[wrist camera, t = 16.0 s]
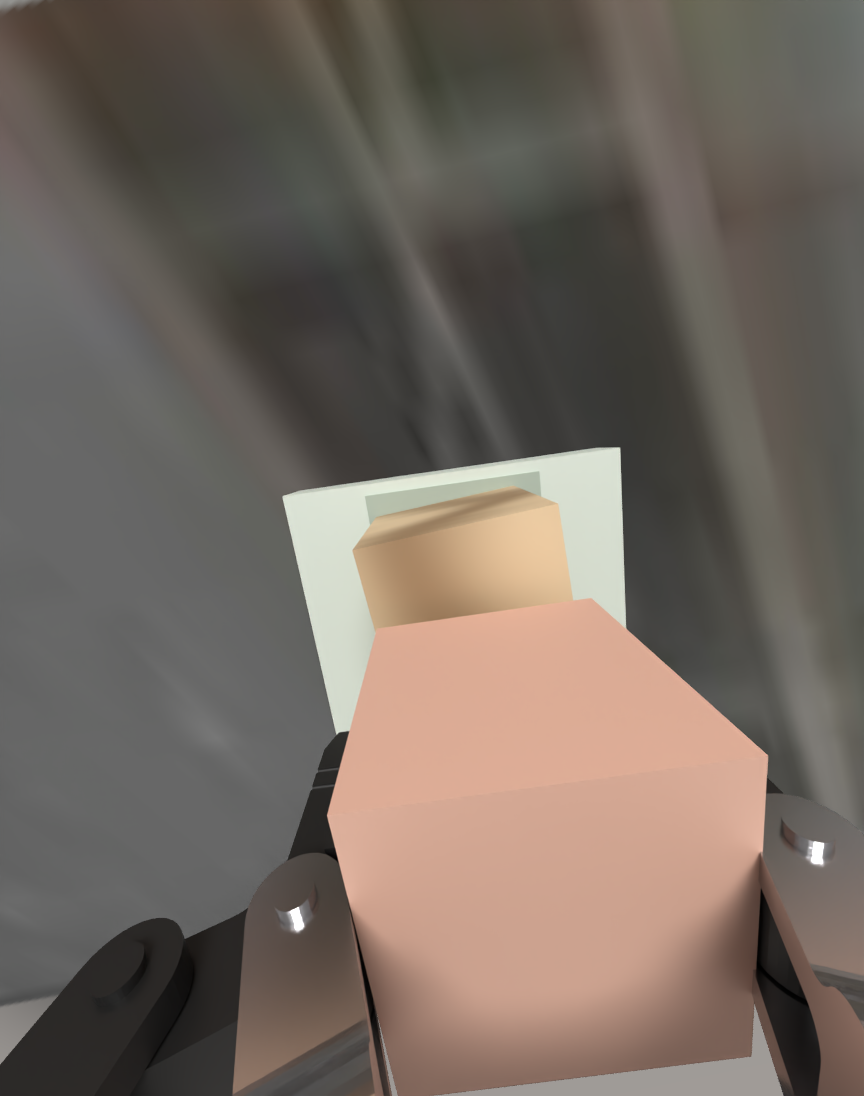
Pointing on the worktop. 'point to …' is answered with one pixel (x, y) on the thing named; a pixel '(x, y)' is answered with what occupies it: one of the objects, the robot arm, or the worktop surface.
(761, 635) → the worktop surface
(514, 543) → the tan rectangular block
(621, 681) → the cube
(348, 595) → the pad
